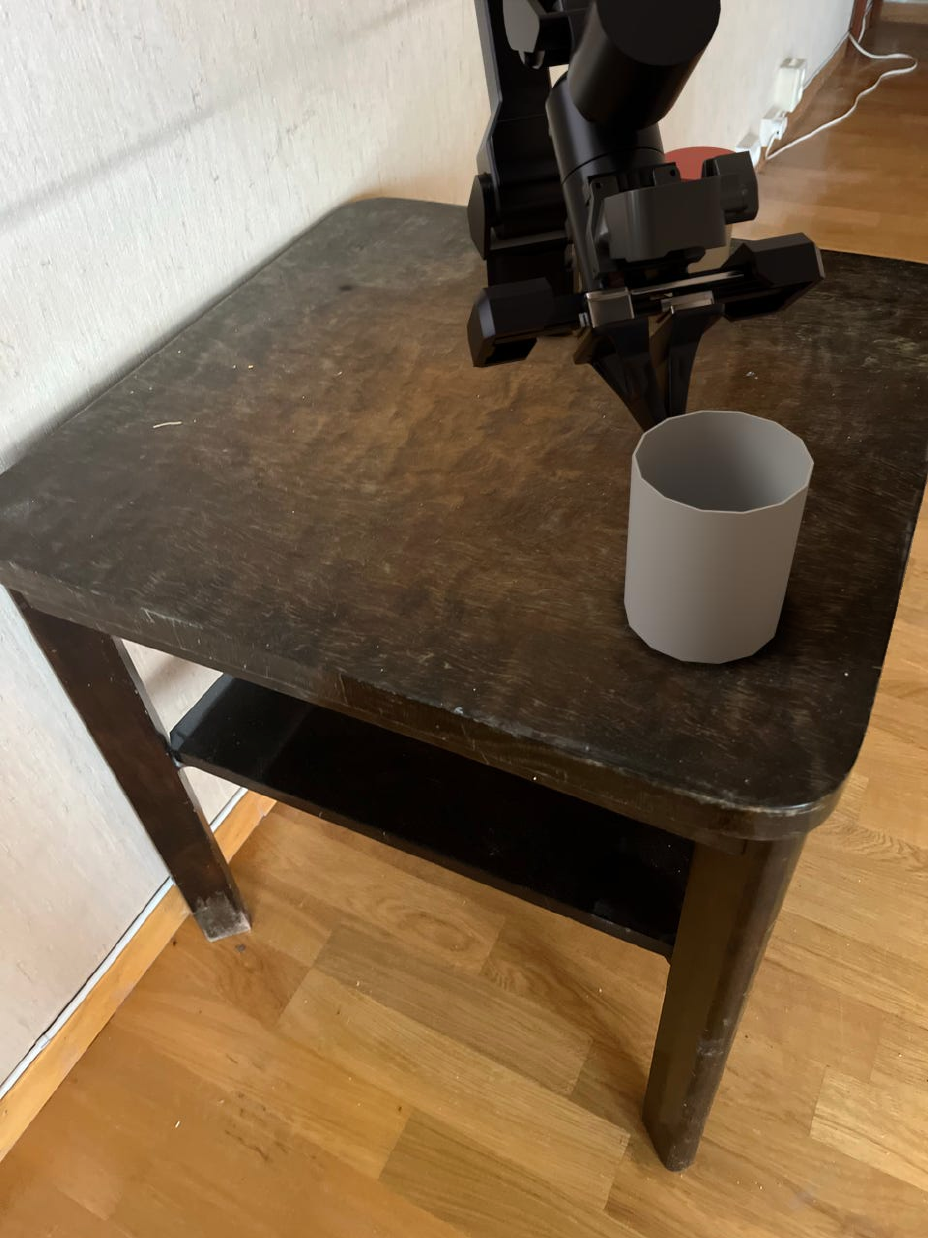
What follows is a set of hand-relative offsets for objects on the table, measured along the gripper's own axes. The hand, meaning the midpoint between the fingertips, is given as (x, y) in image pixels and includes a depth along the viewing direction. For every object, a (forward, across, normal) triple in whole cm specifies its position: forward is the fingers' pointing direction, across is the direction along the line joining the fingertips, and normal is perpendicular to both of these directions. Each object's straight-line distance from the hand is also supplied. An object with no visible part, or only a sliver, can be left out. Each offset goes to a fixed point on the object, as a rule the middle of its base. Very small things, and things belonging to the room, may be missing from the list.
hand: (671, 455), depth 52 cm
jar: (-17, +14, +26) cm, 34 cm away
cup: (+9, 0, 0) cm, 9 cm away
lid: (-24, +14, +20) cm, 34 cm away
